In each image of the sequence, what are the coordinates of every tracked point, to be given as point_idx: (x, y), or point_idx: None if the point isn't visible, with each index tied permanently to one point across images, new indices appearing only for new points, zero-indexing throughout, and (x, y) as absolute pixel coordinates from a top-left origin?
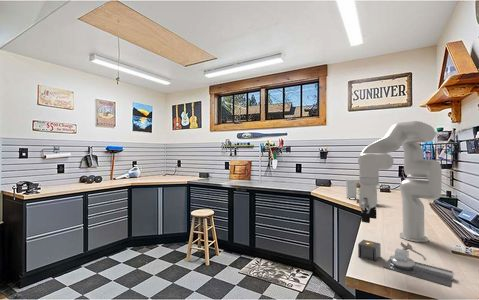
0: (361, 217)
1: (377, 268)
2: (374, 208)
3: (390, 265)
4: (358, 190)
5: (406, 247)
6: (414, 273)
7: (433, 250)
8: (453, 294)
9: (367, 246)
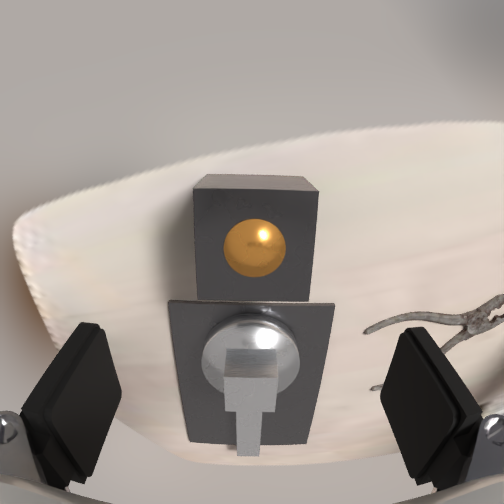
0: (59, 353)
1: (139, 283)
2: (435, 488)
3: (203, 322)
4: None
5: (468, 324)
6: (197, 387)
7: (473, 380)
8: (152, 439)
9: (196, 249)
